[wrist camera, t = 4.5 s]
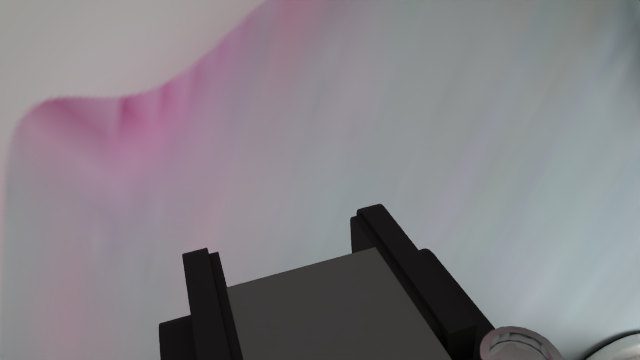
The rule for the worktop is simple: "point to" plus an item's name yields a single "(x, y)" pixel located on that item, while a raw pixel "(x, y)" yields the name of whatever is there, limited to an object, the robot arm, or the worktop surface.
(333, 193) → the worktop surface
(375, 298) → the bolt
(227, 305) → the robot arm
